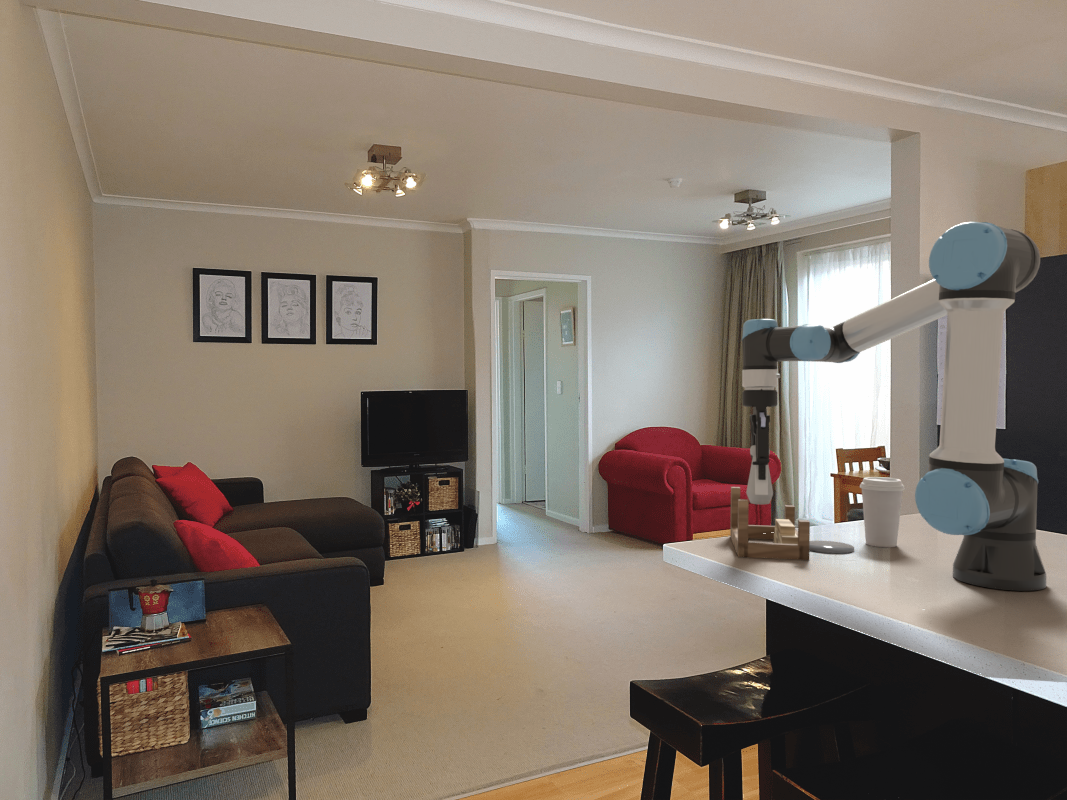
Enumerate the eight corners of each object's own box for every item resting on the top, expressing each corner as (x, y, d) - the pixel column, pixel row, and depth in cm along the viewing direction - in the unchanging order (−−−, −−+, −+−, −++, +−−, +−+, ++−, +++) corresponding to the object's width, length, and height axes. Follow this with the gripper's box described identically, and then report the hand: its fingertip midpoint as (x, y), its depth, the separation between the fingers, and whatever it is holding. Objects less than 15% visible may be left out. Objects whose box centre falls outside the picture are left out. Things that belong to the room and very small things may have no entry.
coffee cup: (911, 549, 175) (913, 482, 175) (868, 548, 175) (869, 481, 175) (893, 540, 185) (894, 476, 184) (852, 539, 185) (853, 476, 184)
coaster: (859, 554, 169) (859, 551, 169) (806, 552, 171) (806, 549, 171) (848, 544, 180) (848, 541, 180) (798, 542, 182) (798, 539, 182)
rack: (809, 560, 164) (810, 502, 163) (738, 557, 166) (738, 500, 166) (793, 539, 185) (793, 488, 185) (730, 536, 188) (730, 486, 187)
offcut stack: (798, 555, 168) (798, 529, 168) (782, 554, 168) (782, 528, 168) (788, 542, 181) (789, 518, 181) (773, 541, 182) (774, 517, 182)
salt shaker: (743, 503, 174) (743, 445, 174) (749, 500, 179) (749, 443, 179) (770, 505, 171) (770, 446, 171) (775, 502, 177) (775, 444, 176)
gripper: (783, 388, 165) (783, 498, 165) (771, 388, 184) (771, 487, 184) (746, 389, 166) (746, 497, 167) (738, 389, 185) (738, 487, 185)
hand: (759, 492), depth 175 cm, fingers closed on salt shaker, 6 cm apart
